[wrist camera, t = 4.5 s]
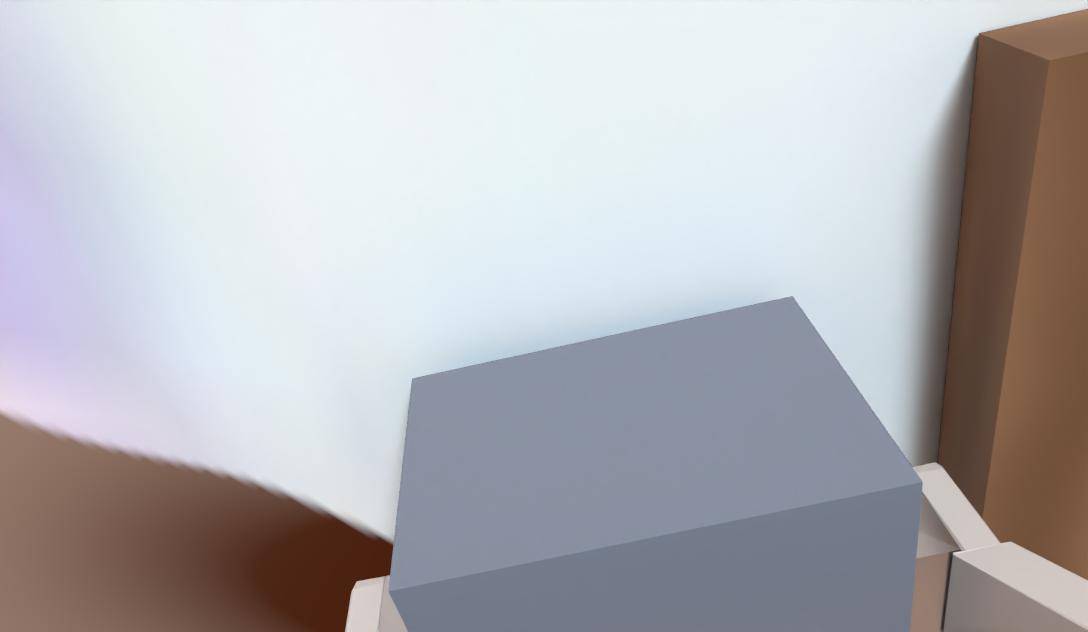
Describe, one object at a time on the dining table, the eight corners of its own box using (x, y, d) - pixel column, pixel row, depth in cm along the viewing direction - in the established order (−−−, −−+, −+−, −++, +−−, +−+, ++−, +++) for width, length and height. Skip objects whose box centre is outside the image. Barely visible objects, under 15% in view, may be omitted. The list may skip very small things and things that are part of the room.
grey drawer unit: (501, 614, 15) (510, 853, 12) (412, 378, 12) (386, 606, 8) (801, 554, 15) (905, 778, 11) (791, 296, 12) (932, 495, 8)
